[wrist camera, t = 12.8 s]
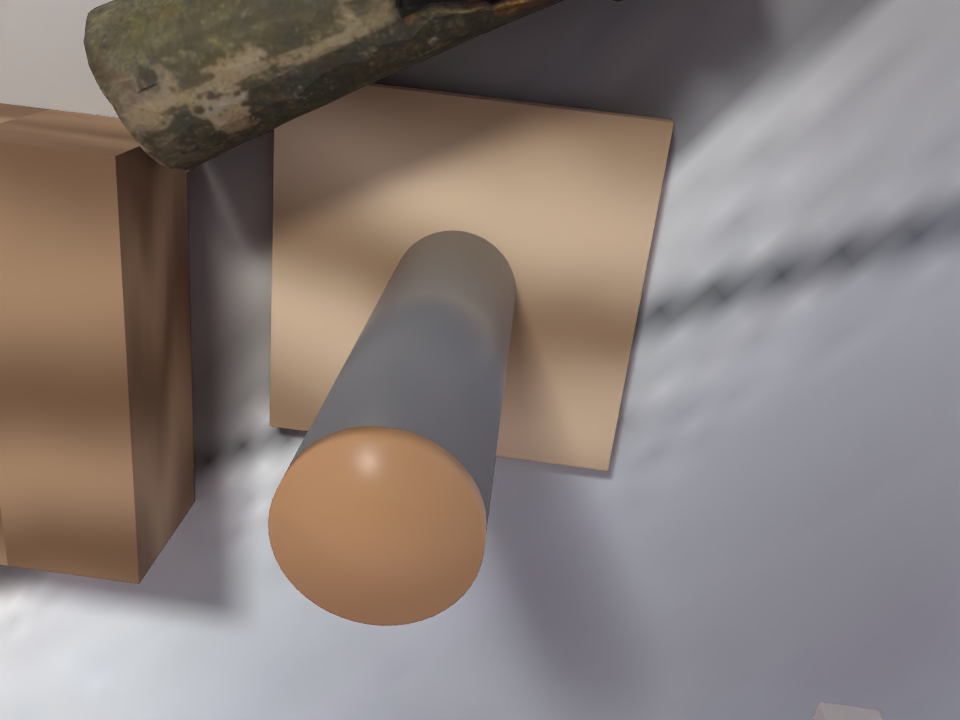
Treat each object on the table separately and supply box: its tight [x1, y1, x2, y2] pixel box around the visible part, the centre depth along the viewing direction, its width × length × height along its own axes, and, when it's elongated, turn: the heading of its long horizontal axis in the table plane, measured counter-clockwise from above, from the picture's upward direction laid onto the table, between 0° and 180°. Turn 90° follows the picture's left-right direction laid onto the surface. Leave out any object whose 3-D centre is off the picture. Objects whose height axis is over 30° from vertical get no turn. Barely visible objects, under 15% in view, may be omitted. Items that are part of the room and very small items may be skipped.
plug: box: [268, 230, 516, 626], centre depth 23 cm, size 4×4×14 cm
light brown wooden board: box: [270, 83, 674, 471], centre depth 30 cm, size 12×12×1 cm
